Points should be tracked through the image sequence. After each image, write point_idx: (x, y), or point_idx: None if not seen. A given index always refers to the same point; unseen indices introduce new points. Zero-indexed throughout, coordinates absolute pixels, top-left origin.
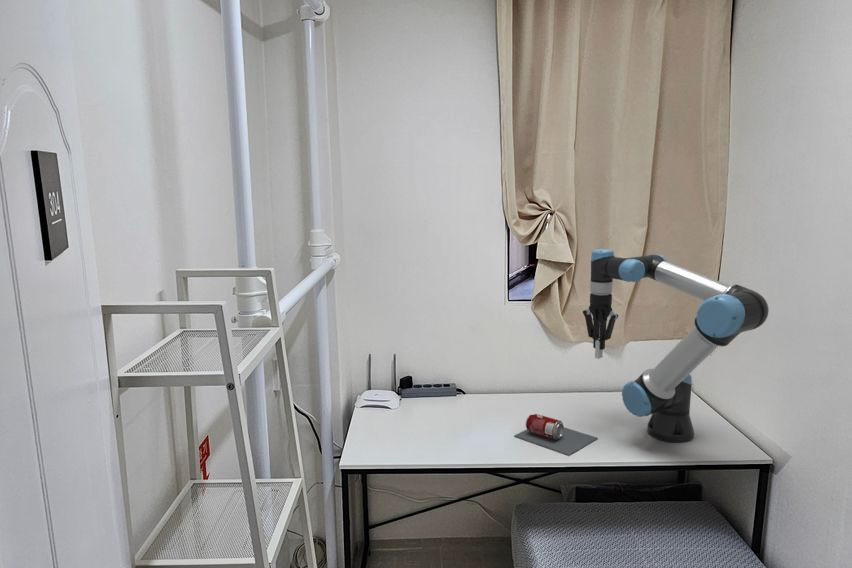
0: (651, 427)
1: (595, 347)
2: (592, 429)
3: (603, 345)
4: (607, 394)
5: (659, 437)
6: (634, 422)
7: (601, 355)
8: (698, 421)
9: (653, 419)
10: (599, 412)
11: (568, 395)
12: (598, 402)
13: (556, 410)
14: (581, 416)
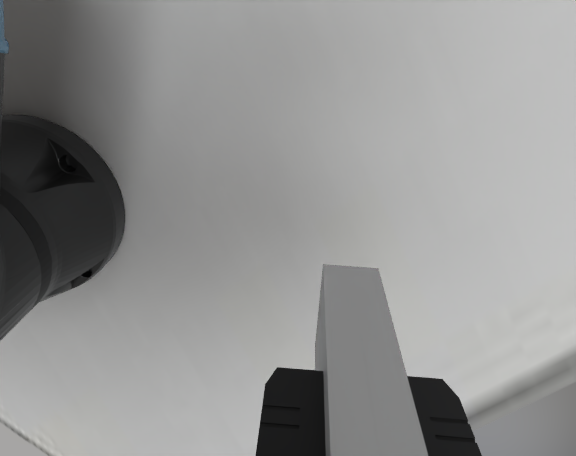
0: (62, 153)
1: (400, 369)
2: (299, 28)
3: (259, 442)
4: None
5: (20, 116)
6: (196, 225)
7: (317, 343)
8: (41, 361)
9: (49, 182)
10: (360, 237)
11: (552, 330)
12: (408, 330)
13: (545, 139)
14: (409, 146)
